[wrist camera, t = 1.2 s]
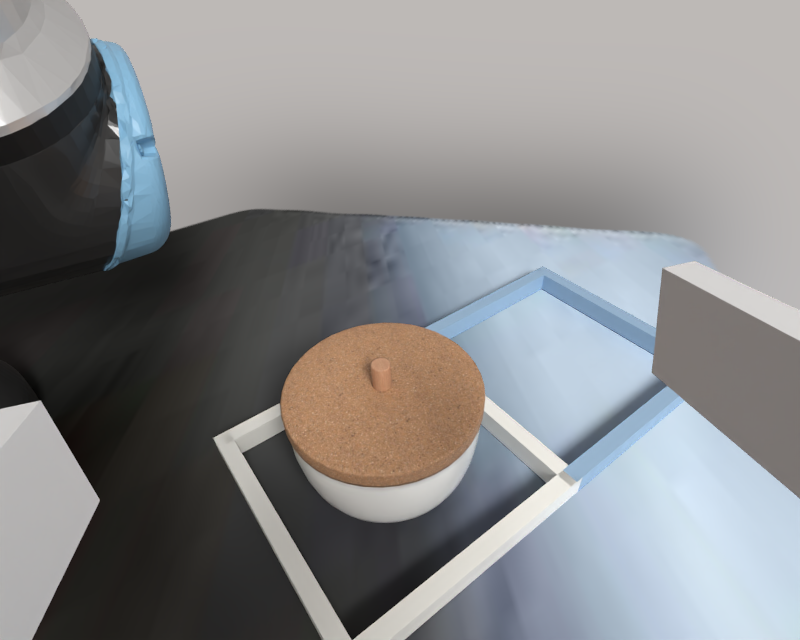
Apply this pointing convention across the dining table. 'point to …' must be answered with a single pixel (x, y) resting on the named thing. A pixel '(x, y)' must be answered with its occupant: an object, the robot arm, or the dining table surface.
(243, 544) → the dining table surface
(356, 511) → the lidded jar
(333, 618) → the white square frame
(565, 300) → the blue bezel
